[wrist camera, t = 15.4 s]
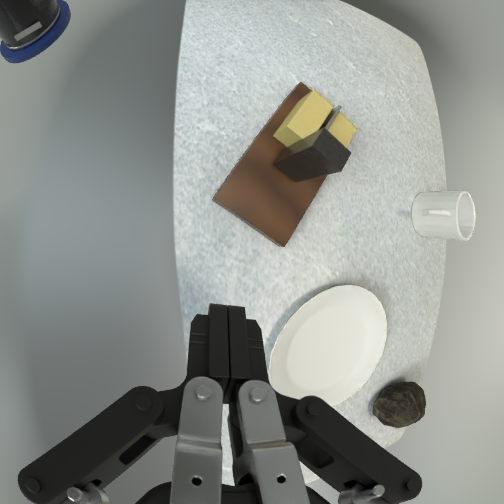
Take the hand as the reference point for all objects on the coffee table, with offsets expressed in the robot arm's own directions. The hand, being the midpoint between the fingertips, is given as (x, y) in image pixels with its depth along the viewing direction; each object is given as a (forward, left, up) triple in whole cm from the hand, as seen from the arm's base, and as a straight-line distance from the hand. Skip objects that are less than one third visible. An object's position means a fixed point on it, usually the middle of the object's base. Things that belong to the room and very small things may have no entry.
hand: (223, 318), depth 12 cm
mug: (+32, +22, -20) cm, 44 cm away
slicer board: (+6, +16, -20) cm, 27 cm away
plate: (+24, -4, -20) cm, 32 cm away
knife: (+7, +19, -18) cm, 27 cm away
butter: (+7, +20, -18) cm, 28 cm away
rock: (+47, -11, -20) cm, 53 cm away
